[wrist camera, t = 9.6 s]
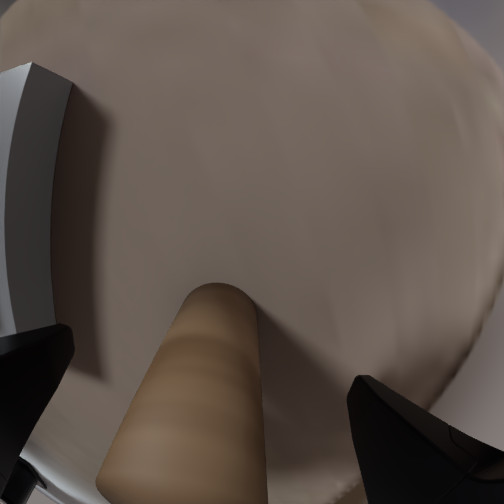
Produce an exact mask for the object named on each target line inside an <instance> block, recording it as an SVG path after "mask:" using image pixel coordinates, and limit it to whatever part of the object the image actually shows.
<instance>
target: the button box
mask: <svg viewBox="0 0 504 504" xmlns="http://www.w3.org/2000/svg"><path fill="white" fill-rule="evenodd" d="M72 83H73V82H71V81H69V80H68V79H66V78H64V77H62V76H60V75H58V74H56V73H54V72H51V71H49V70H47V69H45V68H43V67H41V66H39V65H37V64H35V63H33V62H31V63H28V64H25V65H22V66H19V67H16V68H13V69H10V70H7V71H5V72H2V73H0V337H3V336H8V335H12V334H16V333H21V332H25V331H29V330H34V329H38V328H42V327H46V326H50V325H55V324H56V319H55V311H54V302H53V292H52V279H51V258H50V224H51V203H52V190H53V179H54V171H55V163H56V156H57V149H58V143H59V138H60V133H61V127H62V123H63V118H64V114H65V109H66V105H67V101H68V97H69V94H70V90H71V87H72Z"/></svg>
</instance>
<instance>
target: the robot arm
mask: <svg viewBox="0 0 504 504" xmlns="http://www.w3.org/2000/svg"><path fill="white" fill-rule="evenodd" d="M74 352H75V346H74V340H73V333H72V329H71V327H70V326H67V325H64V324H61V323H59V324H55V325H50V326H46V327H42V328H38V329H34V330H29V331H25V332H21V333H16V334H12V335H8V336H3V337H0V501H1V502H3V503H4V504H26V503H27V501H28V499H29V497H30V495H31V493H32V491H33V489H34V488H35V486H36V485H38V486H40V487H41V488H43V489H45V490H46V489H47V487H46V486H45V484H44V483H43V482H42V480H41V479H40V478H39V477H38V475H37V474H36V473H35V471H34V470H33V468H32V467H31V466H30V465H29V464H28V463H27V462H26V461H24V460H22V459H21V458H19V455H20V453H21V451H22V449H23V447H24V445H25V444H26V442H27V440H28V438H29V436H30V434H31V432H32V431H33V429H34V427H35V425H36V423H37V422H38V420H39V418H40V416H41V415H42V413H43V411H44V410H45V408H46V406H47V405H48V403H49V401H50V400H51V398H52V396H53V395H54V393H55V391H56V389H57V388H58V386H59V384H60V382H61V380H62V378H63V375H64V373H65V371H66V369H67V367H68V365H69V363H70V361H71V359H72V357H73V355H74ZM347 407H348V413H349V420H350V427H351V434H352V439H353V444H354V448H355V452H356V455H357V459H358V463H359V467H360V471H361V475H362V479H363V483H364V487H365V492H366V496H367V500H368V504H504V451H501V450H499V449H497V448H494V447H492V446H490V445H488V444H485V443H483V442H481V441H479V440H477V439H475V438H473V437H470V436H468V435H466V434H465V433H463V432H461V431H459V430H458V429H456V428H454V427H452V426H451V425H448V424H447V423H446V422H444V421H442V420H440V419H439V418H437V417H435V416H434V415H432V414H430V413H429V412H427V411H425V410H424V409H422V408H421V407H419V406H417V405H416V404H414V403H412V402H411V401H409V400H408V399H406V398H404V397H403V396H401V395H400V394H398V393H396V392H395V391H393V390H392V389H390V388H388V387H387V386H385V385H384V384H382V383H381V382H379V381H378V380H376V379H374V378H373V377H371V376H370V375H358V376H356V377H355V379H354V381H353V384H352V386H351V388H350V390H349V392H348V395H347Z"/></svg>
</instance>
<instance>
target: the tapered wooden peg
mask: <svg viewBox="0 0 504 504" xmlns="http://www.w3.org/2000/svg"><path fill="white" fill-rule="evenodd" d="M95 482H96V486H97V489H98V490H99V492H100V493H101V494H102V496H103V497H104V498H105V499H106V500H107V501H109V502H110V503H111V504H268V492H267V475H266V458H265V441H264V424H263V407H262V390H261V373H260V356H259V340H258V323H257V313H256V309H255V306H254V304H253V302H252V301H251V299H250V298H249V297H248V296H247V295H246V294H245V293H244V292H243V291H241V290H240V289H238V288H236V287H234V286H232V285H229V284H225V283H209V284H205V285H202V286H200V287H198V288H196V289H194V290H193V291H192V292H191V293H190V294H189V295H188V296H187V298H186V299H185V301H184V303H183V304H182V306H181V308H180V310H179V312H178V314H177V315H176V317H175V319H174V321H173V323H172V325H171V327H170V329H169V330H168V332H167V334H166V336H165V338H164V340H163V342H162V344H161V346H160V348H159V349H158V351H157V353H156V355H155V357H154V359H153V361H152V363H151V365H150V367H149V369H148V371H147V373H146V375H145V377H144V379H143V381H142V383H141V385H140V387H139V389H138V391H137V393H136V395H135V397H134V399H133V401H132V403H131V405H130V407H129V409H128V411H127V413H126V415H125V417H124V419H123V421H122V423H121V426H120V428H119V430H118V432H117V434H116V436H115V438H114V440H113V443H112V445H111V447H110V449H109V451H108V453H107V456H106V458H105V460H104V462H103V464H102V467H101V469H100V471H99V473H98V476H97V478H96V481H95Z"/></svg>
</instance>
